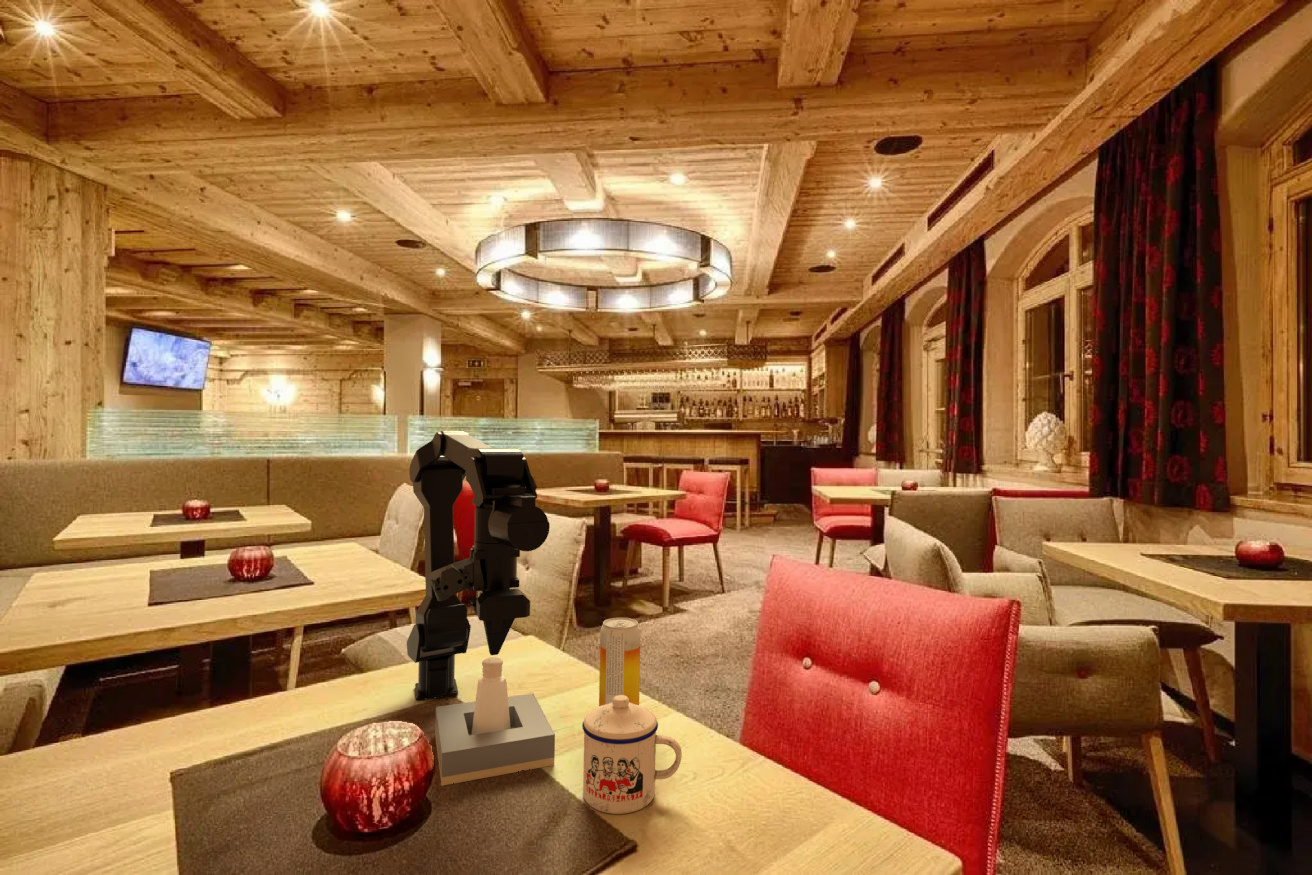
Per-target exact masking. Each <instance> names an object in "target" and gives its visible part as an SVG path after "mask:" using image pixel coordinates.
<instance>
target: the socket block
mask: <svg viewBox="0 0 1312 875" xmlns="http://www.w3.org/2000/svg"><path fill="white" fill-rule="evenodd" d="M508 704H509V716H510V727H511V729H507V730H501V731H495V732H488V733H482V734H476V735H471V734H472V726H473V718H474V710H475V701H468V702H461V703H455V704H447V705H446V704H445V705H441V706H440V705H439V706H435V729H434V732H435V733H434V735H435V737H434V738H435V743H436V752H437V760H438V768H439V776H440V778H439V779H440V785H441V786H442V787H443V786H447V785H448V786H449V785H453V783H454V784H459V783H464V782H469V781H475V780H480V779H485V778H490V777H491V778H492V777H497V776H502V775H508V774H513V773H517V772H518V771H519V772H522V771H521V770H524V771H529V769H530V770H535V769H540V768H545V767H550V766H555V759H556V758H555V755H556V752H555V751H556V750H555V749H556V747H555V744H556V734H555V732H554V730H553V728H552V726H551V724H550V722H549V720H548V718H547V717H546V714H545V713H544V710H543V709H542V707H541V705H540V703H539V701H538V699H537V697H536V695H535V693H534V692H533V693H528V694H527V693H526V694H520V695H512V696H508Z"/></svg>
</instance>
